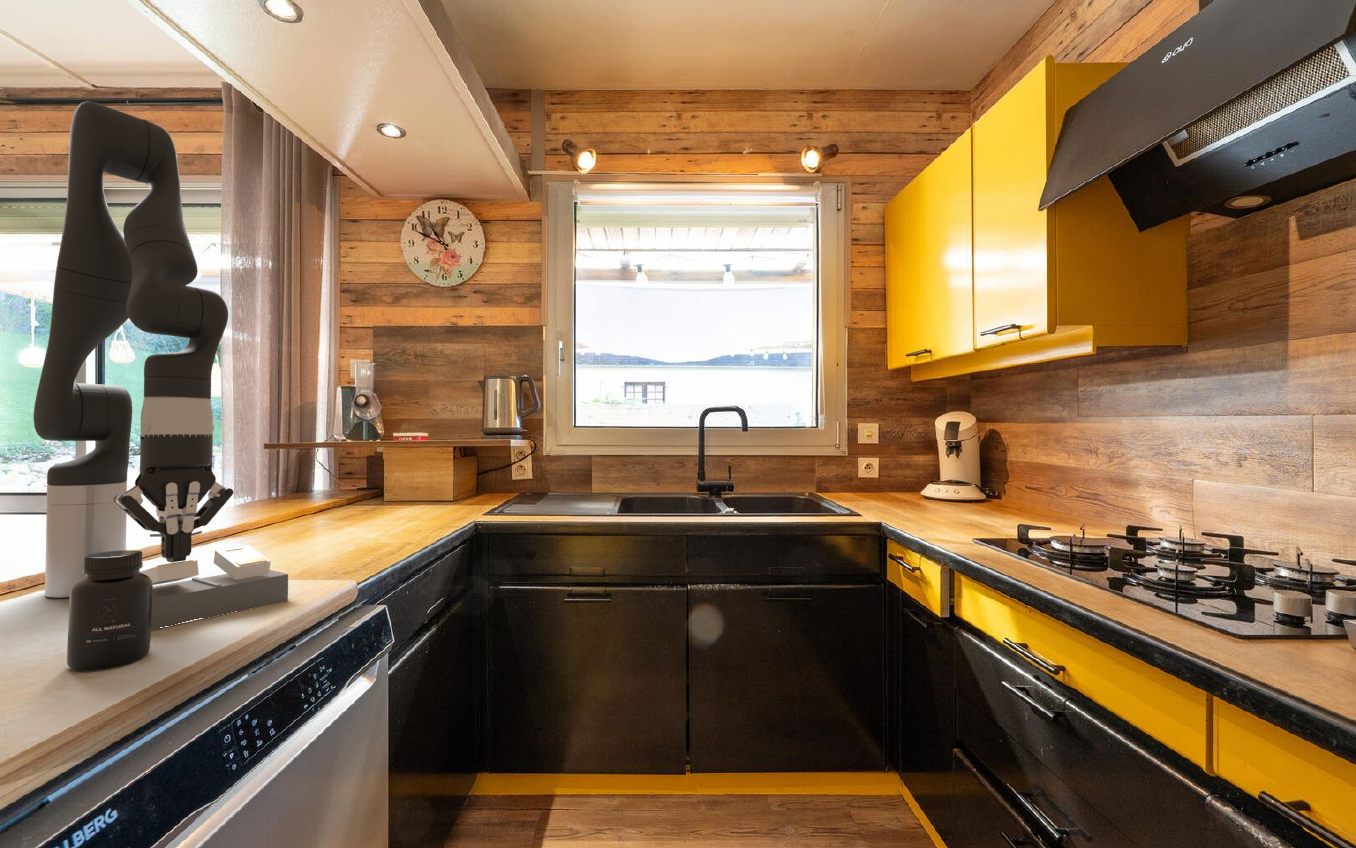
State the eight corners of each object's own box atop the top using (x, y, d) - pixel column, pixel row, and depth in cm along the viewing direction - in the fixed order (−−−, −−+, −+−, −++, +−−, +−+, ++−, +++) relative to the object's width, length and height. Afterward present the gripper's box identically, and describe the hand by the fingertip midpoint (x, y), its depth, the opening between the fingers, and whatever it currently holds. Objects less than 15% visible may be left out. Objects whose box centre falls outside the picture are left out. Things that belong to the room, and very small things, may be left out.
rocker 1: (137, 587, 82) (136, 571, 82) (177, 581, 86) (175, 565, 86) (158, 581, 79) (157, 565, 79) (198, 575, 82) (197, 559, 83)
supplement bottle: (99, 675, 63) (101, 561, 64) (49, 670, 65) (51, 558, 65) (166, 652, 70) (168, 549, 70) (120, 648, 72) (122, 546, 72)
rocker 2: (213, 562, 90) (215, 549, 90) (246, 557, 94) (248, 544, 94) (235, 580, 87) (237, 565, 86) (268, 574, 90) (270, 560, 90)
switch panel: (112, 623, 81) (112, 591, 81) (261, 593, 96) (261, 566, 96) (136, 634, 76) (136, 600, 76) (287, 600, 92) (288, 572, 92)
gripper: (221, 432, 89) (220, 550, 89) (102, 432, 78) (100, 567, 77) (246, 432, 85) (245, 555, 85) (124, 431, 74) (122, 574, 74)
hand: (175, 560), depth 81 cm, fingers closed
